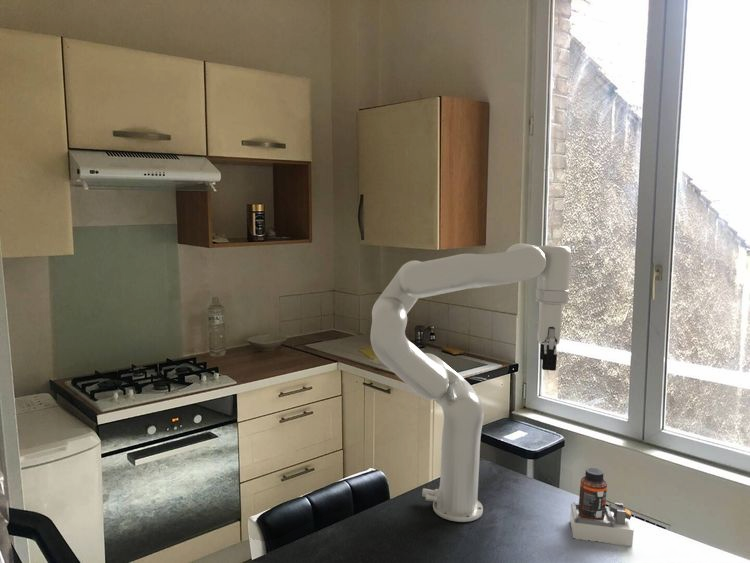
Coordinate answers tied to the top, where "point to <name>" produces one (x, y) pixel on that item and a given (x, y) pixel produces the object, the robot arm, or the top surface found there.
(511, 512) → the top surface
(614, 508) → the breaker lever
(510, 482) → the top surface
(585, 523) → the box
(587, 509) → the supplement bottle
